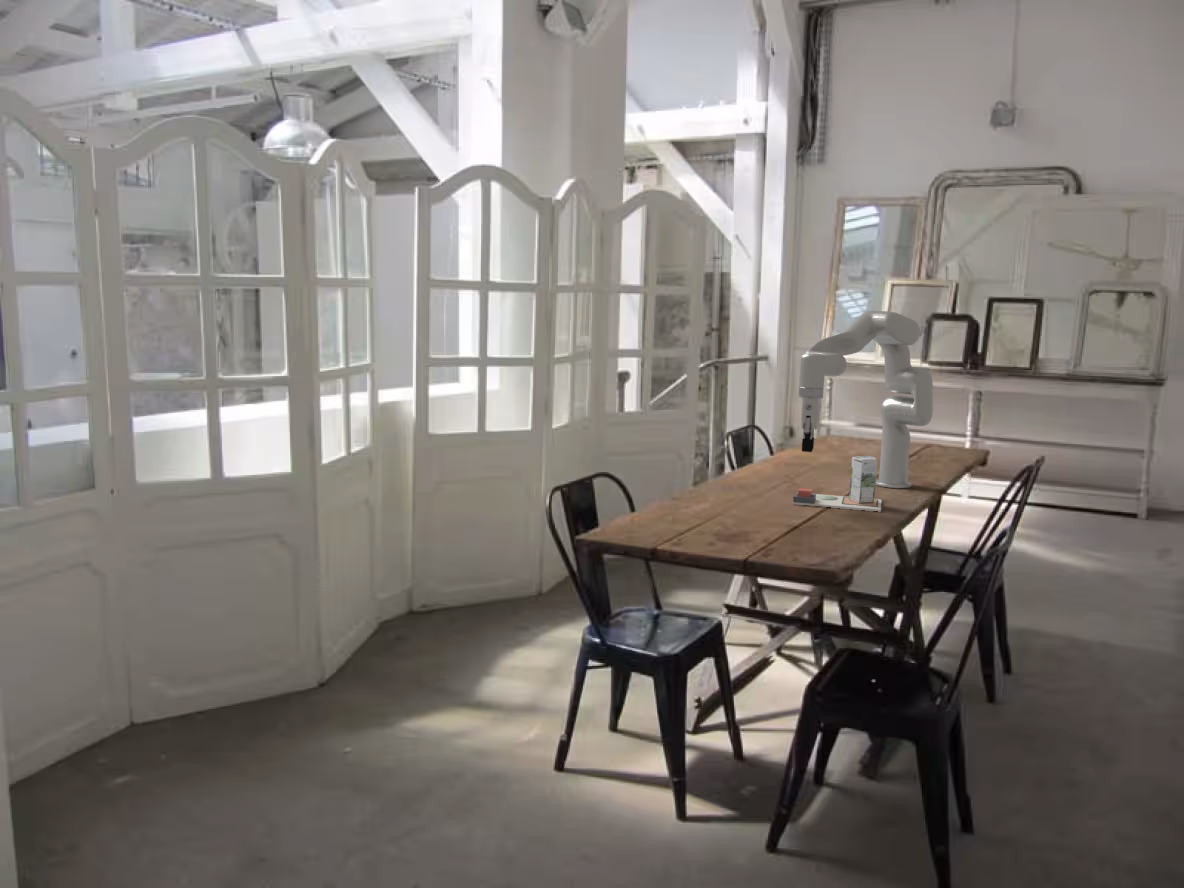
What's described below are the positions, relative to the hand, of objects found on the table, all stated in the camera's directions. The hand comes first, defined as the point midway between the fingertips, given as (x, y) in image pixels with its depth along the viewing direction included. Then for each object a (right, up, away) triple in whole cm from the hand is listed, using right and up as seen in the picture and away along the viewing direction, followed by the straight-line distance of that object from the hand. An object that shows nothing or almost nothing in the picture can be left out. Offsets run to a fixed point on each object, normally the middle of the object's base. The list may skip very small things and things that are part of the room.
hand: (807, 449), depth 310 cm
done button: (0, -15, +2) cm, 15 cm away
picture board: (+10, -17, +4) cm, 20 cm away
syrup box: (+18, -17, +3) cm, 25 cm away
